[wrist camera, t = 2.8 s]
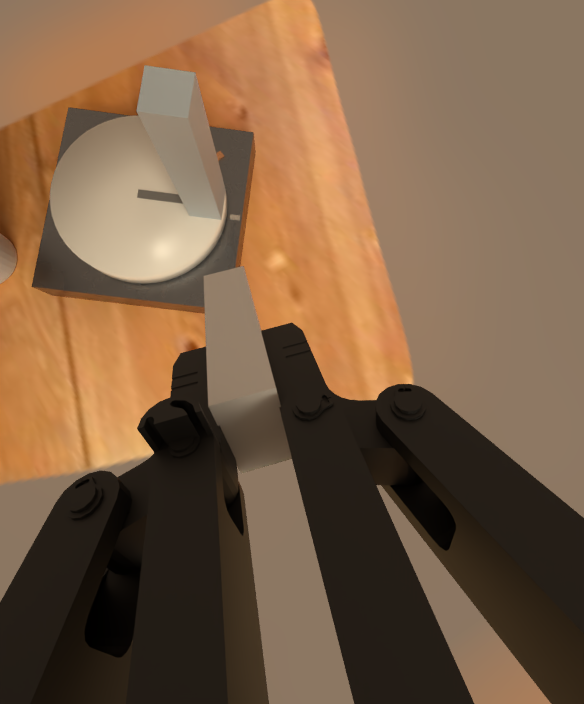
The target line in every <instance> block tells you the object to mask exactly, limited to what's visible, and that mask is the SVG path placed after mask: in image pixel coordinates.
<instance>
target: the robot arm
mask: <svg viewBox="0 0 584 704" xmlns="http://www.w3.org/2000/svg"><path fill="white" fill-rule="evenodd" d="M204 304H205V331H206V347H203V348H199V349H195V350H191V351H188V352H184V353H181V354H180V355H179V357H178V359H177V360H176V362H175V364H174V365H173V374H172V379H173V381H172V386H171V389H172V391H171V397H170V398H168V399H165V400H163V401H160V402H159V403H157V404H156V405H155V406H153V407H152V408H150V409H149V410H148V411H147V412H146V414H145V415H144V416H143V417H142V418H141V421H140V423H139V426H138V428H137V429H138V431H139V432H140V433H141V435H142V436H143V437H144V439H145V440H146V442H147V443H148V444H149V446H150V447H151V448H152V450H153V451H154V454H153V455H152V456H151V457H150V458H149V459H148V460H146V461H145V462H143V463H142V464H140V465H138V466H137V467H135V468H133V469H131V470H130V471H128V472H126V473H124V474H123V475H121V476H119V477H116V476H115V475H114V474H112V473H111V472H107V471H97V472H93V473H89V474H87V475H85V476H84V477H82V478H80V479H78V480H76V481H75V482H74V483H73V484H72V485H71V486H70V487H69V488H67V489H66V490H65V491H64V492H63V494H62V495H61V497H60V498H59V499H58V501H57V502H56V504H55V505H54V507H53V509H52V511H51V513H50V514H49V516H48V518H47V520H46V521H45V523H44V525H43V527H42V529H41V530H40V532H39V534H38V536H37V538H36V539H35V541H34V543H33V545H32V547H31V549H30V550H29V552H28V554H27V555H26V557H25V559H24V561H23V563H22V565H21V566H20V568H19V570H18V572H17V573H16V575H15V577H14V579H13V581H12V582H11V584H10V586H9V588H8V590H7V591H6V593H5V595H4V597H3V598H2V600H1V602H0V704H269V700H268V692H267V684H266V676H265V667H264V659H263V650H262V642H261V633H260V625H259V617H258V608H257V600H256V592H255V583H254V575H253V567H252V558H251V550H250V542H249V533H248V525H247V516H246V509H245V500H244V493H243V490H242V488H241V485H240V483H239V481H238V473H237V467H238V469H239V471H240V473H245V472H248V471H252V470H255V469H259V468H262V467H265V466H269V465H272V464H276V463H279V462H282V461H286V460H289V459H292V460H293V464H294V468H295V472H296V476H297V480H298V484H299V488H300V492H301V495H302V500H303V504H304V507H305V512H306V515H307V519H308V523H309V527H310V531H311V535H312V539H313V543H314V546H315V551H316V554H317V559H318V563H319V567H320V570H321V574H322V578H323V582H324V586H325V590H326V594H327V598H328V602H329V606H330V609H331V614H332V618H333V621H334V625H335V629H336V633H337V637H338V641H339V645H340V649H341V653H342V657H343V661H344V665H345V669H346V673H347V677H348V680H349V684H350V688H351V692H352V696H353V700H354V704H474V703H473V700H472V698H471V695H470V693H469V691H468V689H467V686H466V685H465V682H464V680H463V678H462V676H461V673H460V671H459V669H458V667H457V664H456V662H455V660H454V658H453V655H452V653H451V651H450V649H449V647H448V644H447V642H446V640H445V638H444V635H443V633H442V631H441V629H440V626H439V624H438V622H437V620H436V618H435V615H434V613H433V611H432V609H431V606H430V604H429V602H428V600H427V597H426V595H425V593H424V591H423V589H422V587H421V584H420V582H419V580H418V577H417V575H416V573H415V571H414V569H413V566H412V564H411V562H410V560H409V557H408V555H407V553H406V551H405V549H404V546H403V544H402V542H401V540H400V537H399V535H398V533H397V531H396V529H395V526H394V524H393V522H392V520H391V517H390V515H389V513H388V511H387V509H386V506H385V504H384V502H383V500H382V497H381V495H380V493H379V491H378V488H377V486H376V485H381V486H382V487H383V488H384V489H385V491H386V492H387V493H388V495H389V496H390V497H391V498H392V500H393V501H394V502H395V504H396V505H397V506H398V507H399V509H400V510H401V511H402V513H403V514H404V515H405V516H406V518H407V519H408V520H409V522H410V523H411V524H412V525H413V527H414V528H415V529H416V531H417V532H418V533H419V534H420V536H421V537H422V538H423V540H424V541H425V542H426V543H427V545H428V546H429V547H430V549H431V550H432V551H433V552H434V554H435V555H436V556H437V558H438V559H439V560H440V561H441V563H442V564H443V565H444V567H445V568H446V569H447V570H448V572H449V573H450V574H451V575H452V577H453V578H454V579H455V581H456V582H457V583H458V584H459V586H460V587H461V588H462V590H463V591H464V592H465V593H466V595H467V596H468V597H469V598H470V600H471V601H472V602H473V604H474V605H475V606H476V608H477V609H478V610H479V611H480V613H481V614H482V615H483V616H484V618H485V619H486V620H487V622H488V623H489V624H490V626H491V627H492V628H493V629H494V631H495V632H496V633H497V634H498V636H499V637H500V638H501V639H502V641H503V642H504V643H505V645H506V646H507V647H508V649H509V650H510V651H511V653H512V654H513V655H514V656H515V658H516V659H517V660H518V662H519V663H520V664H521V665H522V666H523V668H524V669H525V671H526V672H527V673H528V674H529V676H530V677H531V678H532V679H533V681H534V682H535V683H536V685H537V686H538V687H539V688H540V690H541V691H542V692H543V694H544V695H545V696H546V697H547V699H548V700H549V701H550V703H552V704H584V518H583V517H582V516H580V515H579V514H578V513H577V512H576V511H574V510H573V509H572V508H571V507H570V506H568V505H567V504H566V503H565V502H563V501H562V500H561V499H560V498H559V497H557V496H556V495H555V494H554V493H553V492H551V491H550V490H549V489H548V488H546V487H545V486H544V485H543V484H542V483H540V482H539V481H538V480H537V479H536V478H534V477H533V476H532V475H531V474H529V473H528V472H527V471H526V470H525V469H523V468H522V467H521V466H520V465H518V464H517V463H516V462H515V461H513V460H512V459H511V458H510V457H509V456H508V455H506V454H505V453H504V452H503V451H502V450H500V449H499V448H498V447H497V446H495V445H494V444H493V443H492V442H491V441H489V440H488V439H487V438H486V437H484V436H483V435H482V434H481V433H480V432H478V431H477V430H476V429H475V428H474V427H472V426H471V425H470V424H469V423H468V422H466V421H465V420H464V419H463V418H461V417H460V416H459V415H458V414H457V413H455V412H454V411H453V410H452V409H451V408H449V407H448V406H447V405H445V404H444V403H443V402H442V401H441V400H439V399H438V398H437V397H436V396H435V395H433V394H432V393H431V392H429V391H427V390H426V389H424V388H422V387H419V386H415V385H411V384H397V385H394V386H391V387H388V388H386V389H385V390H384V391H383V392H381V393H380V394H379V396H378V398H377V400H364V401H358V400H348V399H345V398H341V397H339V396H337V395H336V394H334V393H333V392H332V391H331V390H329V388H328V387H327V385H326V383H325V381H324V379H323V376H322V374H321V372H320V370H319V367H318V365H317V363H316V360H315V358H314V356H313V354H312V352H311V349H310V347H309V344H308V343H307V340H306V338H305V335H304V333H303V331H302V330H301V329H300V328H299V327H297V326H296V325H294V324H293V323H289V324H285V325H281V326H278V327H274V328H270V329H266V330H262V331H261V328H260V324H259V321H258V317H257V313H256V310H255V306H254V302H253V299H252V295H251V291H250V288H249V284H248V280H247V277H246V273H245V269H244V266H241V267H237V268H233V269H229V270H225V271H221V272H217V273H213V274H209V275H205V276H204Z"/></svg>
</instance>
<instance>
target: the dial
mask: <svg viewBox="0 0 584 704" xmlns="http://www.w3.org/2000/svg"><path fill="white" fill-rule="evenodd" d="M137 113H138V116H126V117H119V118H116V119H112V120H108V121H106V122H103V123H101V124H99V125H97V126H95V127H93V128H91V129H90V130H88V131H87V132H85V133H84V134H82V135H81V136H80V137H79V138H78V139H76V140H75V141H74V142H73V143H72V144H71V145H70V147H69V148H68V149H67V150H66V152H65V153H64V154H63V156H62V158H61V159H60V161H59V163H58V165H57V167H56V170H55V172H54V175H53V179H52V182H51V189H50V207H51V213H52V217H53V220H54V224H55V226H56V228H57V230H58V233H59V235H60V236H61V238H62V239H63V241H64V242H65V244H66V245H67V246H68V247H69V248H70V249H71V251H72V252H73V253H74V254H76V255H77V256H78V257H79V258H80V259H81V260H83V261H84V262H86V263H88V264H89V265H91V266H92V267H94V268H95V269H97V270H98V271H100V272H101V273H103V274H105V275H107V276H109V277H112V278H114V279H118V280H121V281H125V282H130V283H141V284H147V283H157V282H162V281H167V280H170V279H173V278H176V277H178V276H180V275H183V274H185V273H187V272H188V271H190V270H191V269H193V268H194V267H196V266H197V265H198V264H199V263H201V262H202V261H203V260H204V259H205V258H206V257H207V256H208V255H209V254H210V253H211V251H212V250H213V248H214V247H215V245H216V244H217V242H218V240H219V238H220V236H221V234H222V231H223V229H224V226H225V222H226V217H227V195H226V189H225V185H224V182H223V178H222V174H221V170H220V166H219V162H218V158H217V154H216V151H215V147H214V143H213V139H212V135H211V131H210V127H209V123H208V120H207V116H206V112H205V108H204V104H203V100H202V96H201V92H200V89H199V85H198V81H197V77H196V73H195V72H188V71H181V70H174V69H167V68H160V67H153V66H144V72H143V78H142V83H141V89H140V94H139V100H138V105H137Z"/></svg>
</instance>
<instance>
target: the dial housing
mask: <svg viewBox="0 0 584 704" xmlns="http://www.w3.org/2000/svg"><path fill="white" fill-rule="evenodd" d="M126 116H128V115H121V114H113V113H106V112H99V111H91V110H84V109H77V108H68V112H67V117H66V122H65V127H64V132H63V137H62V142H61V147H60V151H59V156H58V161H57V165H58V163H59V161H60V159H61V158H62V156H63V154H64V153H65V152H66V150H67V149H68V148H69V147H70V145H71V144H72V143H73V142H74V141H75V140H76V139H78V138H79V137H80V136H81V135H82V134H84V133H85V132H87V131H88V130H90V129H91V128H93V127H95V126H97V125H99V124H101V123H103V122H106V121H108V120H112V119H116V118H119V117H126ZM210 131H211V135H212V139H213V143H214V147H215V151H216V154H217V158H218V162H219V166H220V170H221V174H222V178H223V182H224V185H225V189H226V195H227V217H226V222H225V226H224V229H223V231H222V234H221V236H220V238H219V240H218V242H217V244H216V245H215V247H214V248H213V250H212V251H211V253H210V254H209V255H208V256H207V257H206V258H205V259H204V260H203V261H202V262H201V263H199V264H198V265H197V266H196V267H194V268H193V269H191V270H190V271H188V272H187V273H185V274H183V275H180V276H178V277H176V278H173V279H170V280H167V281H162V282H157V283H147V284H141V283H130V282H125V281H121V280H118V279H114V278H112V277H109V276H107V275H105V274H103V273H101V272H100V271H98V270H97V269H95V268H94V267H92V266H91V265H89V264H88V263H86V262H84V261H83V260H81V259H80V258H79V257H78V256H77V255H76V254H74V253H73V252H72V251H71V249H70V248H69V247H68V246H67V245H66V244H65V242H64V241H63V239H62V238H61V236H60V235H59V233H58V230H57V228H56V226H55V224H54V220H53V217H52V213H51V207H50V200H49V205H48V210H47V215H46V220H45V224H44V229H43V234H42V239H41V244H40V249H39V254H38V258H37V263H36V268H35V273H34V278H33V283H32V287H34V288H36V289H38V290H41V291H43V292H46V293H48V294H50V295H54V296H62V297H71V298H79V299H87V300H96V301H104V302H113V303H121V304H130V305H138V306H146V307H155V308H163V309H172V310H180V311H188V312H197V313H205V304H204V276H205V275H209V274H213V273H217V272H221V271H225V270H229V269H233V268H237V267H240V264H241V256H242V249H243V241H244V234H245V226H246V219H247V211H248V204H249V197H250V189H251V182H252V174H253V167H254V159H255V143H254V133H253V132H246V131H238V130H231V129H224V128H216V127H210ZM56 167H57V166H56Z"/></svg>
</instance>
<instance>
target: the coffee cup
mask: <svg viewBox="0 0 584 704" xmlns="http://www.w3.org/2000/svg"><path fill="white" fill-rule="evenodd" d="M16 263H17V253H16V249H15V248H14V246H13V244H12V243H11V242H10V240H8V239H7V238H6V237H4V236H3V235H2V234H0V283H2V282H4V281H5V280H6V279H8V278H9V277H10V276H11V274H12V273H13V271H14V269H15V267H16Z"/></svg>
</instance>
